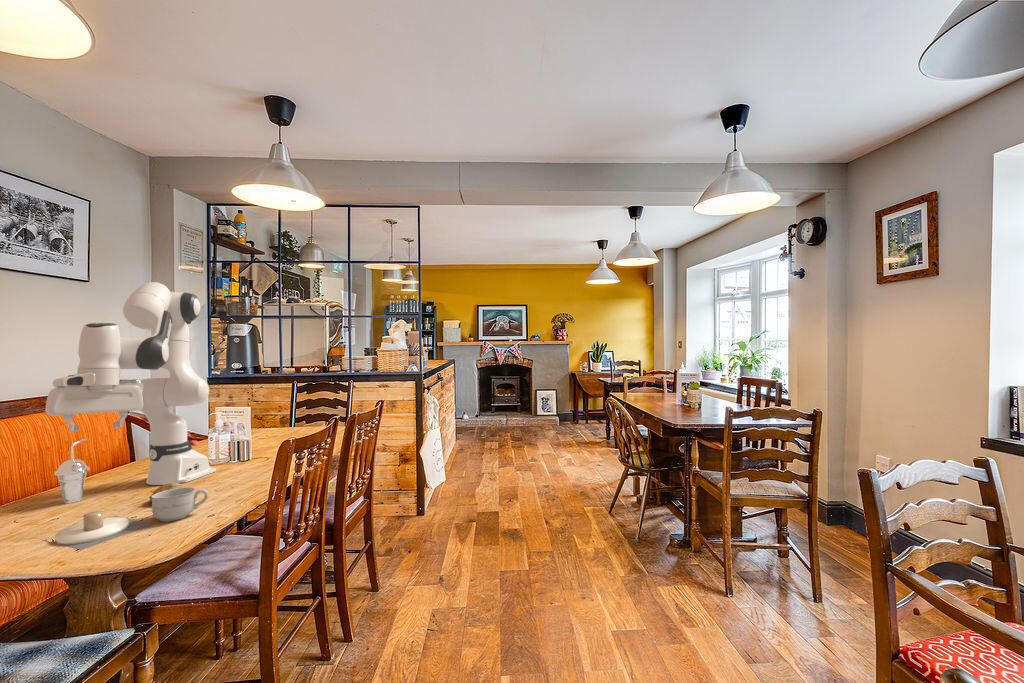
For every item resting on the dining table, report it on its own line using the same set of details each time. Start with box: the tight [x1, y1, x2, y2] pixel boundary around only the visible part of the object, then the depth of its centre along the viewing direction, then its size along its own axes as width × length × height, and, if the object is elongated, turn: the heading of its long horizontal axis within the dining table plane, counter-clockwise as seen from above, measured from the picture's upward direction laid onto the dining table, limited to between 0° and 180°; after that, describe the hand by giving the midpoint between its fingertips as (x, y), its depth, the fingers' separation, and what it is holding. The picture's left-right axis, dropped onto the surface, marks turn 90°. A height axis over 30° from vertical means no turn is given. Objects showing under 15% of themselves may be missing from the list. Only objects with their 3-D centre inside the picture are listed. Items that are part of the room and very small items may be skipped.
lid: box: [54, 510, 129, 546], centre depth 125 cm, size 15×15×5 cm
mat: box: [45, 515, 154, 551], centre depth 126 cm, size 17×17×1 cm
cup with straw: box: [54, 437, 91, 504], centre depth 150 cm, size 8×9×20 cm
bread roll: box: [148, 483, 186, 506], centre depth 150 cm, size 10×10×8 cm
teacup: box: [150, 486, 209, 523], centre depth 136 cm, size 14×11×8 cm
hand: (96, 429), depth 125 cm, fingers open, 8 cm apart
